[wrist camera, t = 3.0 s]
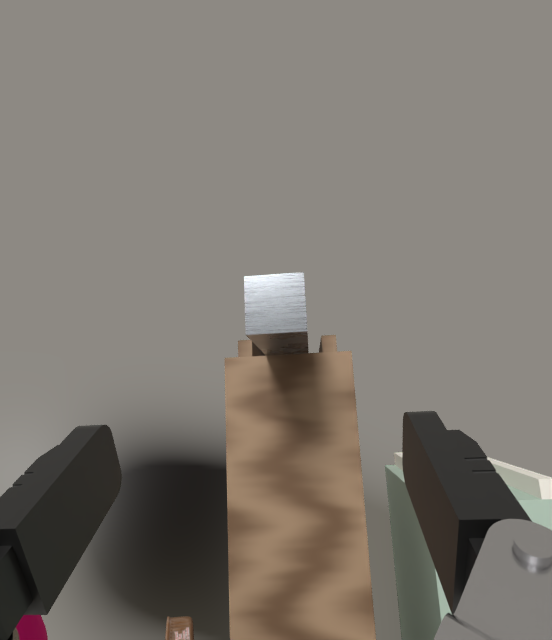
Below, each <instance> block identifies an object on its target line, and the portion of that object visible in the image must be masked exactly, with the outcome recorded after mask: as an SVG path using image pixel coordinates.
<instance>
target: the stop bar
mask: <svg viewBox="0 0 552 640" xmlns="http://www.w3.org/2000/svg"><path fill="white" fill-rule="evenodd" d="M244 288H245V320H246V336H247V337H248V338H249V339H250V340H251V341H252V342H253V343H254V344H255V345H256V346H257V347H258V348H259V349H260V350H261V351H262V352H263V353H264V354H265V355H266V356H269V355H287V354H305V353H308V336H307V318H306V303H305V287H304V273H303V272H300V273H287V274H272V275H258V276H245V277H244Z"/></svg>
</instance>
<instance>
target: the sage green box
mask: <svg viewBox="0 0 552 640" xmlns="http://www.w3.org/2000/svg"><path fill="white" fill-rule="evenodd" d="M394 459H395V465H385V471H386V482H387V492H388V502H389V513H390V523H391V533H392V543H393V554H394V564H395V575H396V585H397V596H398V606H399V616H400V627H401V637H402V640H434V637H435V635H436V633H437V630H438V628H439V626H440V624H441V622H442V620H443V618H444V616H445V615H446V614H447V613H450V614H452V613H451V610H450V608H449V605H448V602H447V599H446V597H445V594H444V591H443V588H442V585H441V583H440V580H439V577H438V574H437V572H436V569H435V566H434V563H433V560H432V558H431V555H430V552H429V549H428V547H427V544H426V541H425V538H424V535H423V533H422V530H421V527H420V524H419V521H418V519H417V516H416V513H415V510H414V508H413V505H412V502H411V499H410V496H409V494H408V491H407V488H406V485H405V480H404V475H403V466H402V452H396V453H394ZM487 460H489V461H490V462H491V463H492V465H493V466H494V468H495V469H496V473H499V475H500V476H501V478H502V479H503V481H504V482H505V483H506V485H507V486H508V488H509V489H510V490H511V492H512V493H513V495H514V496H515V498H516V499H517V500H518V502H519V503H520V505H521V506H522V508H523V509H524V510H525V512H526V513H527V515H528V516H529V518H530V519H531V520H532V522H534V523H537V524H540V525H542V526H544V527H547V528H548V529H550V530H552V478H551V477H548V476H545V475H542V474H539V473H536V472H532V471H529V470H526V469H523V468H520V467H516V466H514V465H510V464H507V463H504V462H501V461H498V460H495V459H491V458H488V457H487Z"/></svg>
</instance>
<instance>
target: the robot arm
mask: <svg viewBox="0 0 552 640" xmlns="http://www.w3.org/2000/svg"><path fill="white" fill-rule="evenodd" d="M402 466H403V475H404V480H405V485H406V488H407V491H408V494H409V496H410V499H411V502H412V505H413V508H414V510H415V513H416V516H417V519H418V521H419V524H420V527H421V530H422V533H423V535H424V538H425V541H426V544H427V547H428V549H429V552H430V555H431V558H432V560H433V563H434V566H435V569H436V572H437V574H438V577H439V580H440V583H441V585H442V588H443V591H444V594H445V597H446V599H447V602H448V605H449V608H450V610H451V613H452V614H450V613H447V614H446V615H445V616H444V618H443V620H442V622H441V624H440V626H439V628H438V630H437V633H436V635H435V637H434V640H552V530H550V529H548V528H547V527H544V526H542V525H540V524H537V523H534V522H532V520H531V519H530V518H529V516H528V515H527V513H526V512H525V510H524V509H523V508H522V506H521V505H520V503H519V502H518V500H517V499H516V498H515V496H514V495H513V493H512V492H511V490H510V489H509V488H508V486H507V485H506V483H505V482H504V481H503V479H502V478H501V476H500V475H499V473H496V469H495V468H494V466H493V465H492V463H491V462H490V461H489V460H487V456H486V455H485V453H484V452H483V451H482V449H481V448H480V446H479V445H478V443H477V442H476V441H474V440H473V439H471V438H470V437H469V436H467V435H466V434H464V433H463V432H462V431H460V430H446V428H445V426H444V424H443V423H442V421H441V420H440V418H439V416H438V415H437V413H436V412H435V411H424V412H423V411H422V412H405V413H404V416H403V452H402ZM121 479H122V474H121V468H120V464H119V460H118V456H117V452H116V448H115V444H114V440H113V436H112V432H111V430H110V428H109V427H108V426H107V425H90V426H78V427H76V428H75V429H74V430H73V431H72V432H71V433H70V434H69V435H68V436H67V437H66V438H65V440H63V441H62V443H61V444H60V445H57V446H56V447H54V448H53V449H51V450H50V451H48V452H47V453H45V454H44V455H42V456H40V457H39V458H38V459H37V460H36V461H35V462H34V463H33V464H32V465H31V466H30V467H29V468H28V469H27V470H26V471H25V474H24V475H21V476H20V477H19V478H18V480H16V482H15V483H14V484H13V487H11V488H9V489H8V490H7V491H6V492H5V493H4V494H3V495H2V496H1V497H0V640H19V634H18V631H17V629H16V626H17V624H18V623H19V621H20V620H21V618H22V617H23V615H47V614H48V612H49V611H50V609H51V607H52V606H53V604H54V602H55V600H56V599H57V597H58V595H59V594H60V592H61V590H62V588H63V587H64V585H65V583H66V582H67V580H68V578H69V577H70V575H71V573H72V572H73V570H74V568H75V567H76V565H77V563H78V562H79V560H80V558H81V556H82V555H83V553H84V551H85V550H86V548H87V546H88V544H89V543H90V541H91V540H92V538H93V536H94V534H95V533H96V531H97V529H98V528H99V526H100V524H101V523H102V521H103V519H104V517H105V516H106V514H107V512H108V511H109V509H110V507H111V506H112V504H113V502H114V501H115V499H116V497H117V495H118V493H119V491H120V487H121Z"/></svg>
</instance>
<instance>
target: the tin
mask: <svg viewBox="0 0 552 640" xmlns="http://www.w3.org/2000/svg"><path fill="white" fill-rule="evenodd" d="M165 640H194V634H193V621H192V618H191V617H173V618H170V617H167V624H166V636H165Z"/></svg>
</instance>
